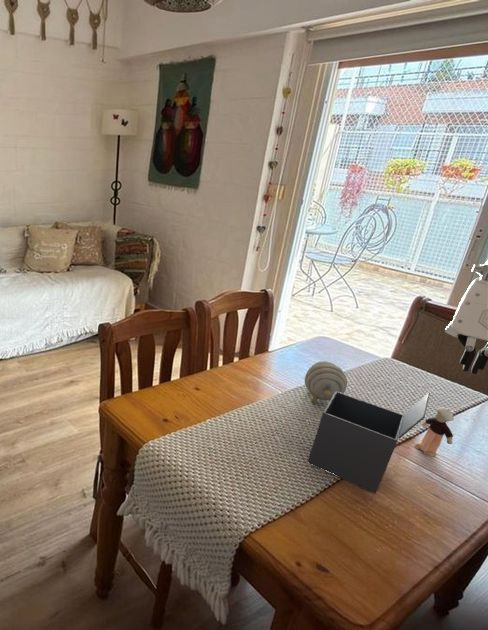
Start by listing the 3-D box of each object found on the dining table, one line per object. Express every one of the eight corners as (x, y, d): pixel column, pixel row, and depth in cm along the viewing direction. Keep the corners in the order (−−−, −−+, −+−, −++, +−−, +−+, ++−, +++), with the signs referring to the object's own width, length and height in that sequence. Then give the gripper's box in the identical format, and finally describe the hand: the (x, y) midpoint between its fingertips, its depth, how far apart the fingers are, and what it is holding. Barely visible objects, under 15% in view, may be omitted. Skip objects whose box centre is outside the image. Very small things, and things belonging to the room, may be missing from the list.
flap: (405, 412, 97) (406, 413, 97) (397, 437, 89) (399, 438, 89) (428, 392, 93) (430, 393, 93) (422, 416, 85) (424, 417, 85)
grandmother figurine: (406, 443, 110) (424, 401, 105) (417, 440, 111) (435, 398, 106) (438, 464, 104) (458, 420, 99) (449, 461, 105) (470, 417, 100)
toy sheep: (335, 387, 133) (345, 355, 129) (347, 419, 119) (359, 385, 114) (297, 381, 136) (305, 349, 132) (304, 411, 122) (314, 377, 117)
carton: (384, 465, 103) (405, 415, 97) (375, 494, 95) (397, 440, 89) (320, 439, 111) (335, 391, 105) (307, 463, 103) (322, 412, 97)
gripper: (453, 272, 77) (417, 363, 85) (578, 294, 68) (525, 393, 75) (455, 263, 82) (421, 349, 90) (571, 282, 73) (523, 377, 81)
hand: (469, 369), depth 83 cm, fingers closed
